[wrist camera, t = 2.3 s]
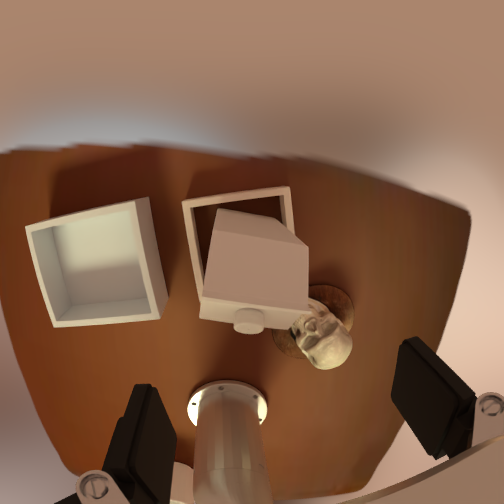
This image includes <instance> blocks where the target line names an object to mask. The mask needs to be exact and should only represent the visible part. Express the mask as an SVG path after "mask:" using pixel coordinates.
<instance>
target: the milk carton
mask: <svg viewBox="0 0 504 504" xmlns="http://www.w3.org/2000/svg"><path fill="white" fill-rule="evenodd" d="M308 273H309V247H308V246H306V245H305V244H304V243H303V242H302V241H301V240H300V239H299V238H297V237H296V236H295V235H294V234H293V233H292V232H291V231H289V230H288V229H287V228H286V227H285V226H284V225H283V224H281V223H280V222H279V221H278V220H277V219H276V218H273V217H268V216H263V215H257V214H252V213H246V212H241V211H235V210H229V209H223V208H218V209H217V213H216V218H215V222H214V227H213V231H212V237H211V243H210V249H209V255H208V261H207V267H206V273H205V279H204V286H203V292H202V298H201V299H202V300H201V307H200V315H199V318H202V319H207V320H213V321H220V322H227V323H234V329H235V330H236V331H237V332H240V333H244V334H257V333H260V332H262V331H263V329H264V327H265V328H274V329H284V330H288V329H289V328H290V327H291V326H292V324H293V323H294V322H295V321H296V320H297V319H298V318H299V317H300V315H301V314H311V313H312V311H311V310H310V308H309V306H308Z"/></svg>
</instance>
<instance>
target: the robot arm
mask: <svg viewBox="0 0 504 504" xmlns="http://www.w3.org/2000/svg"><path fill="white" fill-rule="evenodd" d="M391 398H392V401H393V403H394V404H395V406H396V407H397V409H398V410H399V412H400V413H401V414H402V416H403V417H404V419H405V420H406V422H407V423H408V425H409V426H410V428H411V429H412V431H413V433H414V434H415V436H416V437H417V438H418V440H419V441H420V443H421V445H422V446H423V448H424V449H425V451H426V452H427V454H428V455H430V456H431V455H432V456H433V457H434V458H435V460H437V459H439V458H441V457H443V456H445V455H446V454H447V456H448V457H449V460H447V461H445V462H443V463H441V464H439V465H437V466H435V467H433V468H431V469H429V470H427V471H425V472H423V473H421V474H418V475H416V476H414V477H412V478H409V479H407V480H405V481H403V482H400V483H397V484H395V485H392V486H390V487H387V488H385V489H382V490H379V491H377V492H373V493H370V494H368V495H365V496H362V497H358V498H355V499H352V500H349V501H345V502H342V503H338V504H504V397H503V396H502V395H500V394H498V393H493V392H488V393H484V394H482V395H481V396H479V397H478V398H477V397H476V396H475V392H473V390H472V389H471V388H469V386H468V385H467V384H466V383H465V382H464V381H463V380H462V379H461V378H460V377H459V376H458V375H457V374H456V373H455V372H454V371H453V370H452V369H451V368H450V367H449V366H448V365H447V364H446V363H445V362H444V361H443V360H442V359H440V358H439V356H437V355H436V354H435V353H434V352H433V351H432V350H431V349H430V348H429V347H428V346H427V345H426V344H425V343H424V342H423V341H422V340H421V339H420V338H419V337H417V336H415V337H412V338H409V339H406V340H404V341H403V342H402V344H401V345H400V346H399V351H398V357H397V364H396V369H395V375H394V381H393V386H392V391H391ZM188 415H189V417H190V419H191V421H192V422H193V423H194V424H195V425H196V436H195V452H194V469H193V489H192V490H193V498H194V501H195V503H196V504H274V503H273V498H272V493H271V488H270V482H269V476H268V470H267V464H266V458H265V452H264V446H263V440H262V434H261V427H260V424H261V423H262V422H263V421H264V419H265V417H266V415H267V403H266V400H265V398H264V396H263V395H262V393H261V392H260V391H259V390H258V389H256V388H255V387H253V386H251V385H249V384H247V383H244V382H240V381H235V380H220V381H214V382H210V383H208V384H205V385H203V386H201V387H200V388H198V389H197V390H196V391H195V392H194V393H193V394H192V395H191V397H190V399H189V402H188ZM176 442H177V437H176V433H175V430H174V428H173V426H172V424H171V421H170V419H169V417H168V415H167V412H166V410H165V407H164V405H163V403H162V400H161V398H160V395H159V393H158V390H157V388H156V387H152V385H151V384H136V385H135V386H134V388H133V391H132V394H131V396H130V399H129V402H128V405H127V408H126V411H125V414H124V417H120V418H119V420H118V422H117V425H116V427H115V430H114V433H113V436H112V439H111V442H110V445H109V448H108V452H107V455H106V458H105V461H104V464H103V467H102V471H100V470H92V471H88V472H86V473H84V474H83V475H81V476H80V478H79V479H78V481H77V483H76V493H75V494H72V495H71V496H68V497H67V498H65V499H62V500H61V501H58V502H56V503H54V504H170V496H171V486H172V476H173V467H174V459H175V450H176Z"/></svg>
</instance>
